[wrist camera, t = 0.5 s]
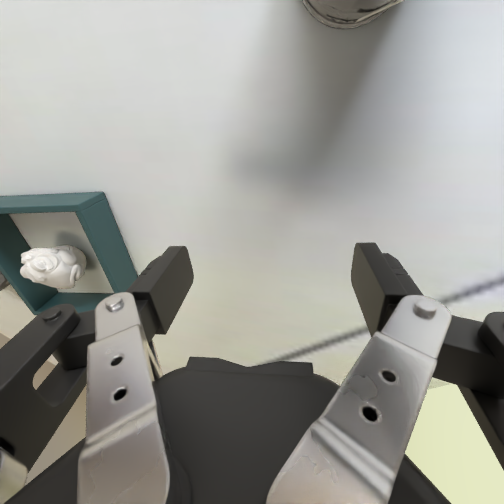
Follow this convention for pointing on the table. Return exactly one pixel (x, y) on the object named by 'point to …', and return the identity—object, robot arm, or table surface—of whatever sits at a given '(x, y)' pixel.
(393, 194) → the table surface
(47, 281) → the white rounded figurine
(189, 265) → the robot arm
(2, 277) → the walkie-talkie
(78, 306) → the open box
